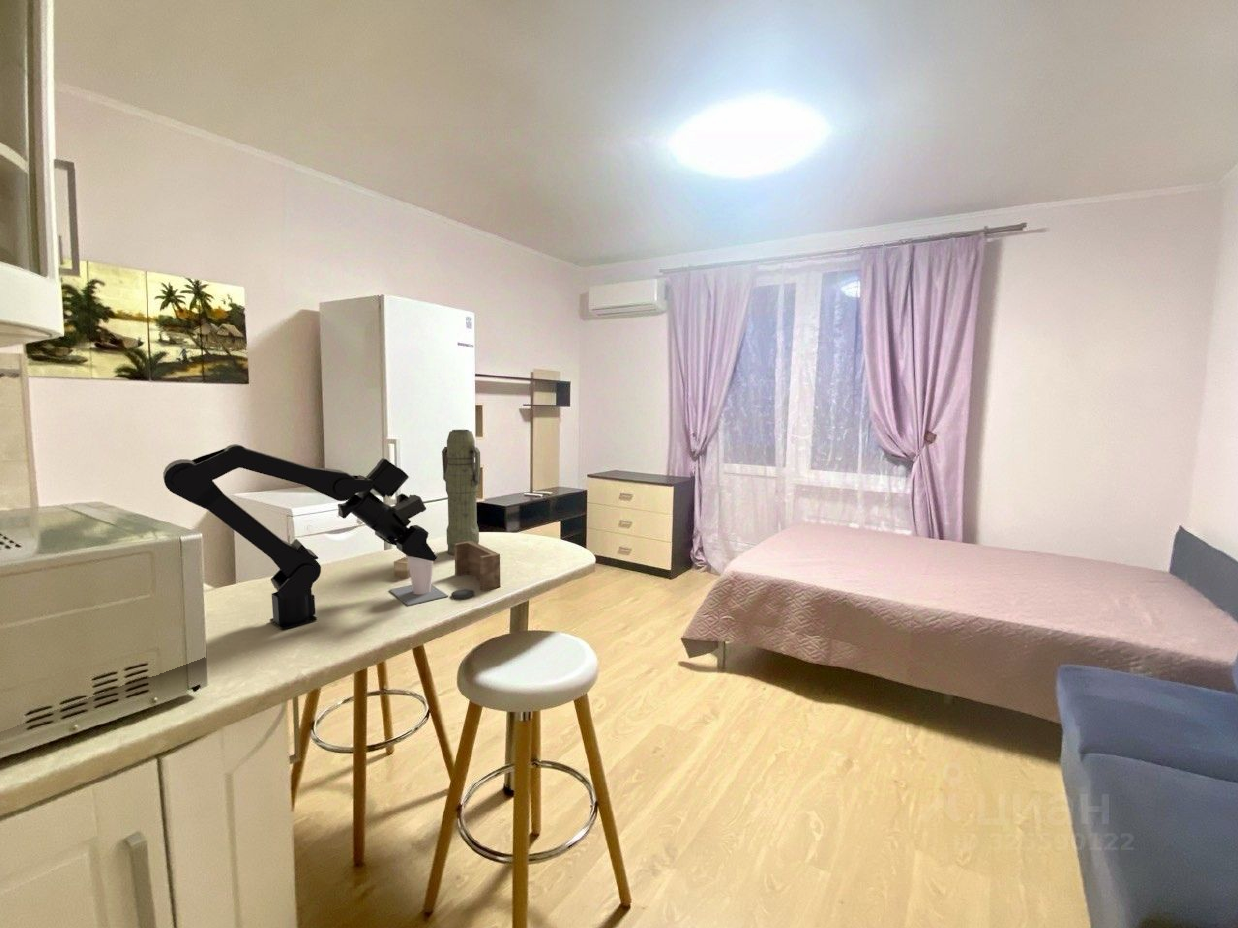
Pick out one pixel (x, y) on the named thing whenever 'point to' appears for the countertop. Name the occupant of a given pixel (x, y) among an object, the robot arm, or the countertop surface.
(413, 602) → the mat
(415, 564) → the smoothie
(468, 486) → the thermos
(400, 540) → the robot arm
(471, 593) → the dark grey disc
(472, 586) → the countertop surface
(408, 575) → the oak cube
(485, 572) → the cubby
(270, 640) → the countertop surface
